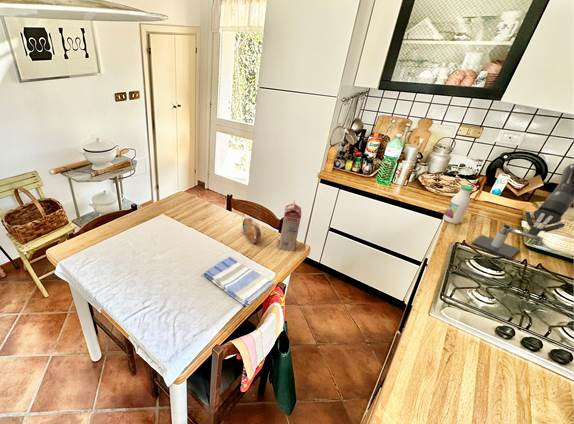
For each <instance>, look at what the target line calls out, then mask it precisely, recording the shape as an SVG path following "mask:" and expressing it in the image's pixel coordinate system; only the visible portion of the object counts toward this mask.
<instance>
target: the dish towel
mask: <svg viewBox="0 0 574 424" xmlns="http://www.w3.org/2000/svg"><path fill="white" fill-rule="evenodd" d="M203 276H204V277H205V278H207V279H208V280H210V281H211V282H212V283H213V284H215V285H216V286H217V287H219V288H220V289H221V290H223V291H224V292H225V293H226V294H227V295H229V296H230V297H231V298H233V299H235V300H236V301H238V302H239V303H240V304H242V305H244V307H246V308H248V307H251V306H252V305H253V304H255V303H256V302H257V301H258V300H260V299H261V298H262V297H263V296H264V295H265V294H267V293H268V292H269V291H270V290H271V289H273V288H274V286H275V285H276V284H275V282H274V281H273V280H271V279H269V278H268V277H266V276H264V275H262V274H260V273H259V272H258V271H255V270H254V269H252V268H250V267H248V266H247V265H245V264H243V263H240V262H239V261H238V260H236V259H235V258H233V257H232V256H229V257H227V258H226V259H224V260H221V261H220V262H219V263H217V264H216V265H215V266H213V267H211V268H209V269H208V270H206V271H205V272H204V273H203Z"/></svg>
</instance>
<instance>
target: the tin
mask: <svg viewBox="0 0 574 424" xmlns="http://www.w3.org/2000/svg"><path fill="white" fill-rule="evenodd" d="M242 231H243V234H244V235H245V236H246V238H247V239H248V240H249V241H250V243H252V244H256V243H259V242H260V240H261V236H262V231H261V228H260V227H259V225H258V224H257V223H256V222H255V221H254V220H253V219H252V218H249V217H247V218H244V219H243V220H242Z"/></svg>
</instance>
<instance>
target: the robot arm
mask: <svg viewBox="0 0 574 424" xmlns="http://www.w3.org/2000/svg"><path fill="white" fill-rule="evenodd" d="M560 177H561V178H560V180H559V182H558V185H557V186H556V187H555V188H554V190H553V191H552V192H551V193H550V194H549V195H548V196H547V197H546V199H545V200H544V201H543V202H542V204H541V205H540V206H539V207H538V209H537V210H534V211H532V212H529V211H526V212H525V214H524V216H525V220H526V222H527V225H528V227H530V229H529V231H528V232H527V233H529V234H533V235H536V236H539V234H540V233H541V232H546V233H548V232H551V231H552V232H553V231H557V230H561V229H563V228H564V227H565V223H564V222H562V217H564V215H565V214H566V212H567V211H568V210H569V209H570V208H571V206H572V205H573V203H574V163H571V164H568V165H567V166H565V168H564V169H563V170H562V173H561V176H560ZM533 217H534V220H535V222H534V221H533V219H532V218H533Z"/></svg>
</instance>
